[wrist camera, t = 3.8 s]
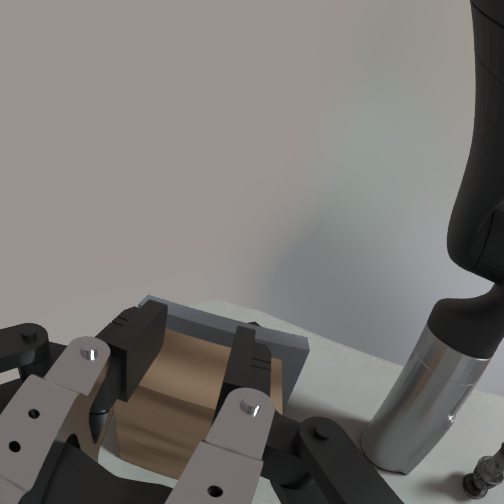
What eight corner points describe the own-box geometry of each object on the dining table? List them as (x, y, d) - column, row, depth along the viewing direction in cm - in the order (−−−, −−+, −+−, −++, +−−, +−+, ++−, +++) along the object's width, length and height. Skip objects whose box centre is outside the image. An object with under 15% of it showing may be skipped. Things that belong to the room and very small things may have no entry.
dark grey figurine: (465, 466, 22) (517, 403, 19) (491, 479, 18) (544, 417, 15) (456, 492, 18) (518, 426, 15) (484, 505, 14) (547, 441, 11)
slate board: (283, 410, 33) (309, 350, 31) (134, 369, 33) (138, 304, 31) (282, 396, 36) (307, 337, 34) (142, 357, 36) (148, 294, 34)
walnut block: (242, 494, 20) (282, 423, 17) (120, 459, 20) (112, 374, 17) (249, 438, 27) (281, 359, 24) (146, 409, 27) (152, 324, 25)
